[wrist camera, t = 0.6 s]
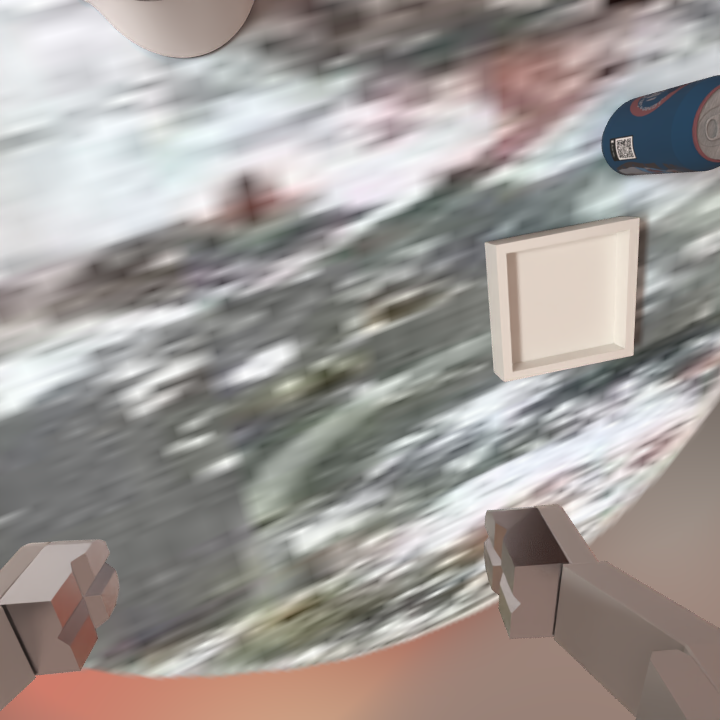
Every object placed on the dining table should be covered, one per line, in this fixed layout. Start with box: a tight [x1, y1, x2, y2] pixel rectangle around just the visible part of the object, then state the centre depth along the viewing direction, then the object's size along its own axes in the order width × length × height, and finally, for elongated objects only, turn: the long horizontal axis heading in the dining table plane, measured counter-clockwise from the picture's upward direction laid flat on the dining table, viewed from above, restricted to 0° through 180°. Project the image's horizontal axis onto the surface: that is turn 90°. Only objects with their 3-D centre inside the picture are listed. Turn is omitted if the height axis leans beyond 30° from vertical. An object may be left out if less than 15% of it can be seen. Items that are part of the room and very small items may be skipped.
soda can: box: [602, 75, 720, 175], centre depth 41 cm, size 7×7×12 cm
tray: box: [485, 216, 640, 382], centre depth 50 cm, size 15×15×3 cm
